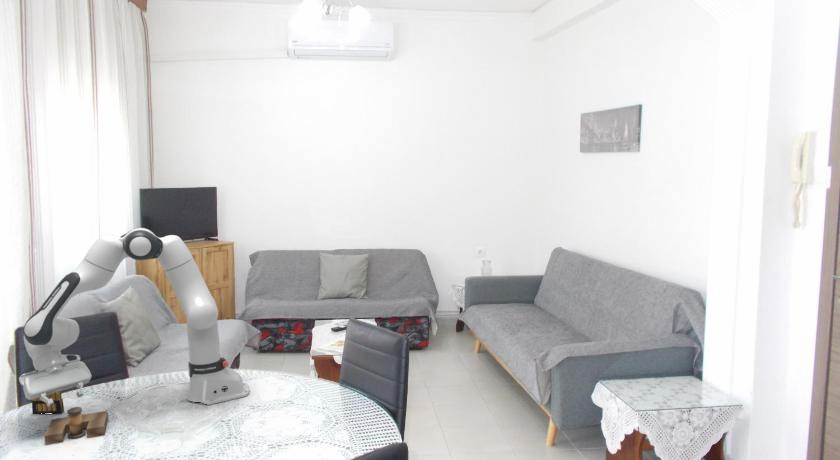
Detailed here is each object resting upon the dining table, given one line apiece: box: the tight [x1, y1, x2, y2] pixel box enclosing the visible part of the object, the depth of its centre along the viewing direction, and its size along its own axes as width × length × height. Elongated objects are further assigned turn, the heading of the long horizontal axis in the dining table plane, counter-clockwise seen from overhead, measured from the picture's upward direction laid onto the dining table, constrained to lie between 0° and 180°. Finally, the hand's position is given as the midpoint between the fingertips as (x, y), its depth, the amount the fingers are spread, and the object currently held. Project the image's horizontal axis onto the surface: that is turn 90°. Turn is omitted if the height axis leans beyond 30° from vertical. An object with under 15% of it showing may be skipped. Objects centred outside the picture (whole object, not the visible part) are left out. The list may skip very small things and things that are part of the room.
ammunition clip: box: [31, 391, 65, 415], centre depth 225 cm, size 11×2×12 cm, turn 88°
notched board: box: [44, 410, 109, 446], centre depth 210 cm, size 17×14×3 cm
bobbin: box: [66, 406, 87, 440], centre depth 206 cm, size 5×5×9 cm
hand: (66, 400), depth 209 cm, fingers open, 8 cm apart
